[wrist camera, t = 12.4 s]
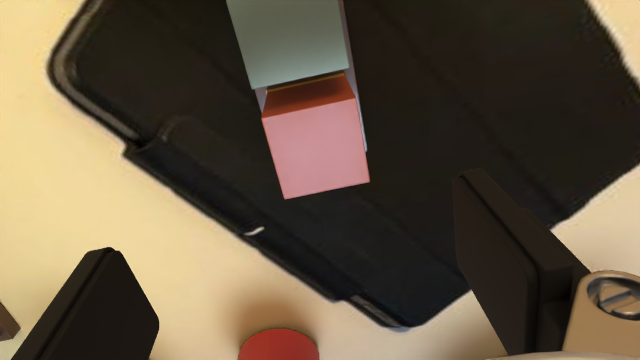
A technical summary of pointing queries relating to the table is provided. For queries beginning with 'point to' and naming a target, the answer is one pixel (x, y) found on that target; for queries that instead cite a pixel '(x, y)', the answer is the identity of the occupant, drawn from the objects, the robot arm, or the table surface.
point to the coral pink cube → (315, 137)
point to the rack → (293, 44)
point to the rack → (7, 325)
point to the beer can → (279, 346)
